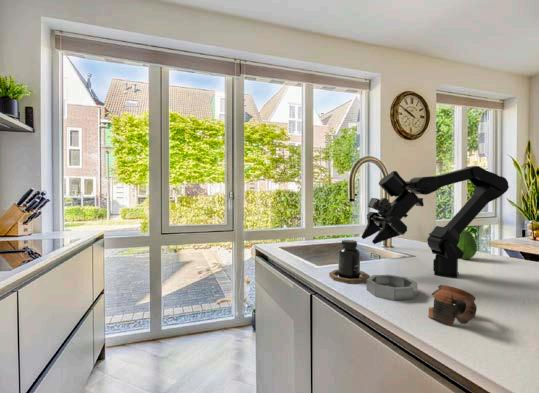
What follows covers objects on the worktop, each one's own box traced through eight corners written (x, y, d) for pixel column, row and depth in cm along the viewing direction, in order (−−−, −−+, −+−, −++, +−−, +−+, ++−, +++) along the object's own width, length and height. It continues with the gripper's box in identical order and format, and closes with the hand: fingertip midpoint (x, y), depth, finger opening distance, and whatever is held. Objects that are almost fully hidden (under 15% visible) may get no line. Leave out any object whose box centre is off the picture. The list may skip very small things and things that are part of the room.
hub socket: (420, 290, 86) (420, 279, 86) (409, 303, 76) (409, 291, 76) (376, 282, 93) (376, 272, 93) (361, 293, 83) (361, 282, 83)
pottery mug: (416, 313, 71) (426, 281, 73) (452, 331, 71) (461, 298, 73) (451, 323, 59) (462, 283, 61) (494, 343, 59) (504, 303, 61)
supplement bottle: (361, 281, 94) (361, 243, 94) (338, 280, 96) (338, 242, 95) (358, 274, 101) (358, 239, 101) (338, 273, 102) (338, 238, 102)
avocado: (449, 258, 124) (449, 229, 123) (461, 256, 127) (461, 227, 127) (469, 262, 116) (469, 231, 116) (481, 260, 120) (481, 230, 119)
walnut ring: (373, 276, 100) (373, 273, 99) (360, 285, 90) (360, 282, 90) (339, 270, 107) (339, 267, 107) (324, 278, 97) (324, 275, 97)
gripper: (372, 189, 108) (341, 220, 107) (397, 189, 89) (360, 226, 89) (393, 211, 108) (363, 241, 108) (422, 215, 90) (386, 253, 89)
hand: (367, 240), depth 98 cm, fingers open, 9 cm apart
